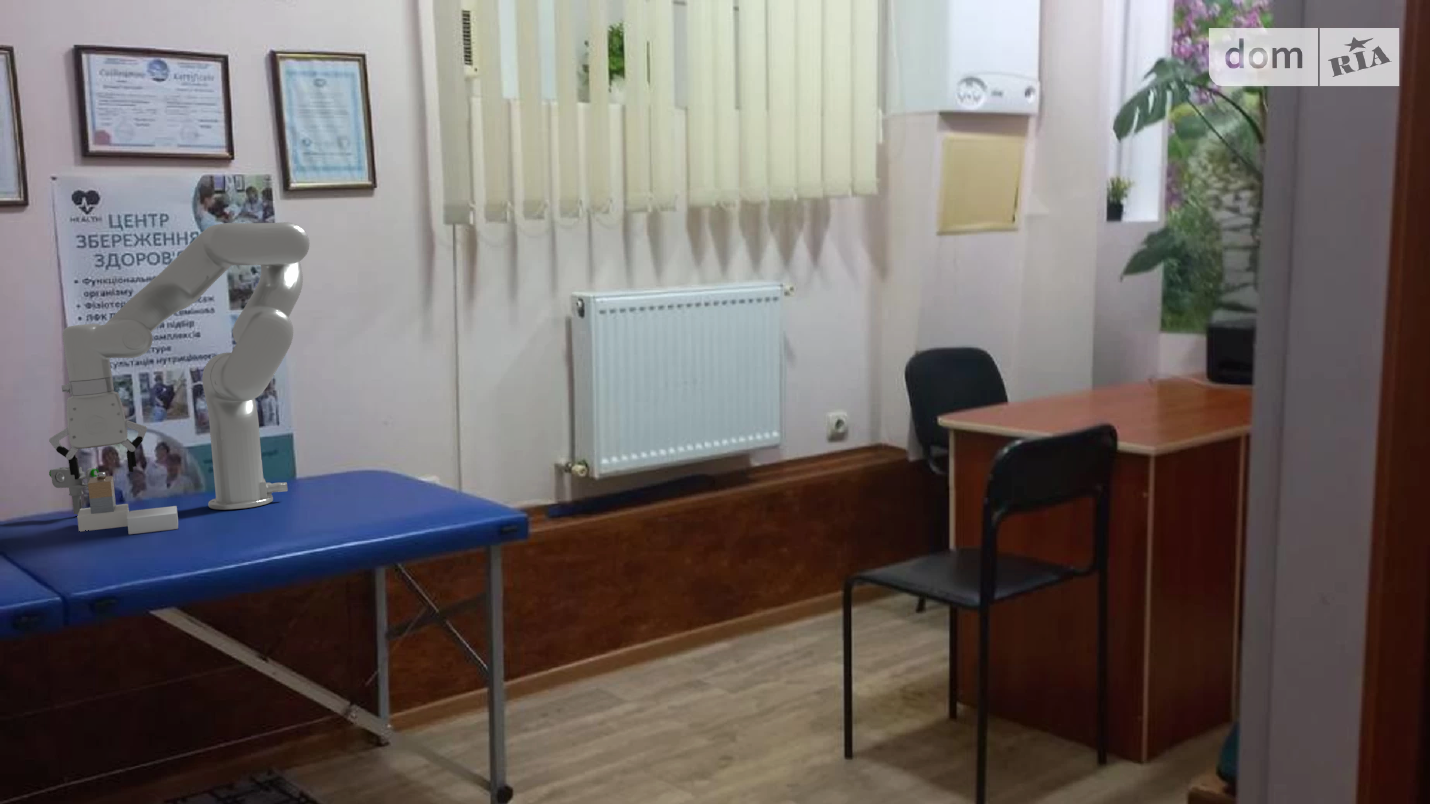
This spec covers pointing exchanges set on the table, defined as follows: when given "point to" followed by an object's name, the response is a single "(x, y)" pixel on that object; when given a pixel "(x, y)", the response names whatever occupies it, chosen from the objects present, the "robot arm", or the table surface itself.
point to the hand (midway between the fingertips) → (104, 474)
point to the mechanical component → (72, 483)
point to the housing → (101, 494)
